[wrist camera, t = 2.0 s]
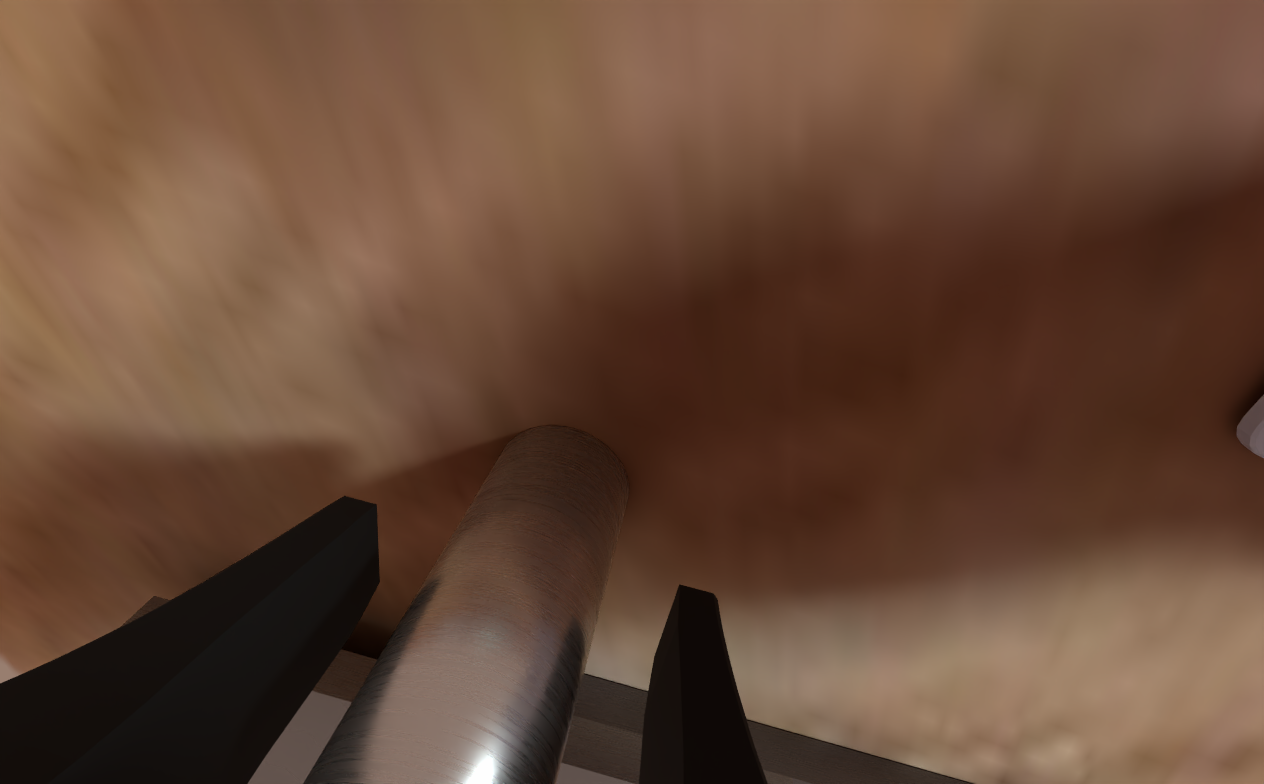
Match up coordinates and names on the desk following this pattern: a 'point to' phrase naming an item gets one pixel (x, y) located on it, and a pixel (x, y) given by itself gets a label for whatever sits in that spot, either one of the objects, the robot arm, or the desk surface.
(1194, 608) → the desk surface
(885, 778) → the end link lower
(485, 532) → the steel pin
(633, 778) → the end link upper
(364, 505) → the robot arm
